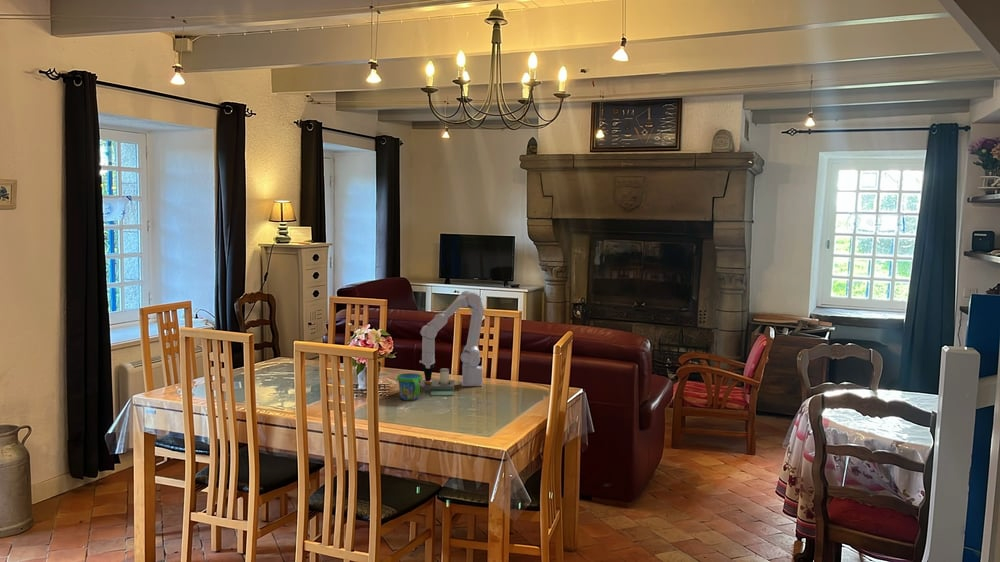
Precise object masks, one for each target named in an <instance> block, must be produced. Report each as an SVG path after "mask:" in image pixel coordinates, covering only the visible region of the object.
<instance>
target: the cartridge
mask: <svg viewBox="0 0 1000 562" xmlns="http://www.w3.org/2000/svg"><path fill="white" fill-rule="evenodd" d="M439 376H440V377H439V380H440V384H449V380H450V369H449V368H446V367H445V368H440V369H439Z"/></svg>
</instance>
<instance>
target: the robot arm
mask: <svg viewBox="0 0 1000 562" xmlns="http://www.w3.org/2000/svg"><path fill="white" fill-rule="evenodd" d="M467 307H468V309H469V310H470V311H471V314H470V315H471V316H470V322H469V328H468V335H467V340H466V345H465V346H463V350H462V352H461V354H460V361H461V362H462V368H461V369H462V370H461V371H462V372H461V373H462V376H461V377H462V379H461V387H482V386H483V384H482V383H483V366H482V365H479V364H480V362H481V356H480V349H479V341H480V336H481V331H482V323H483V316H484V312H485V309H484V306H483V303H482V297H481V296H480V295H479V294H478V293H477V292H471V291H469V290H465V291H462V292H461V294H459V295H458V296H456V298H455V300H454V301H453V302H452V303H451V304H450V305H449V306H448V307H447V308H446V309H444V310H445V311H443V312H442V313H437V314H435V315H434V317H433V318H432V319H431V321H429V322H427V324H426V325H423V326H422V327H421V330H420V331H419V334H420V335H421V336H422V340H421V341H422V342H421V347H422V348H421V351H422V353H421V360H419V363H420V364H422V365H421V368H422V370H423V373H424V378H425V379H424V380H426V381H430V380H432V374H433V371H434V369H435V363H436V358H435V356H436V355H435V351H436V350H435V348H436V347H435V346H436V345H435V344H436V341H435V338H436V337H437V335H438V332H439V331H440V330H441V329H442V328H443V327H445V325H447V324H448V322H449V321H448V319H449V318H450V317H451V316H452V315H454V314H455V313H456V312H457V311H458V310H460V309H461V308H467Z"/></svg>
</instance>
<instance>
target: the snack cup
mask: <svg viewBox="0 0 1000 562" xmlns="http://www.w3.org/2000/svg"><path fill="white" fill-rule="evenodd" d="M396 378H397V381H398V386H399V387H398V388H399V396H400V399H401V400H403V401H416V400H417V399H419V396H420V394H421V384H422V380H423V376H422V375H421V374H419V373H401V374H399V375H398V374H397V376H396Z"/></svg>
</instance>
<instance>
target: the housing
mask: <svg viewBox="0 0 1000 562" xmlns="http://www.w3.org/2000/svg"><path fill="white" fill-rule="evenodd" d="M424 380H425V379H422V380H421V383H420V393H421V392H425V393H428V392H429V393H431V391H453V393H454V392H455V380H454V379H453V380H452V379H451V380H450V379H449V384H440V379H438V380H437V379H431V380H432V382H431V384H425V382H424Z"/></svg>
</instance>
